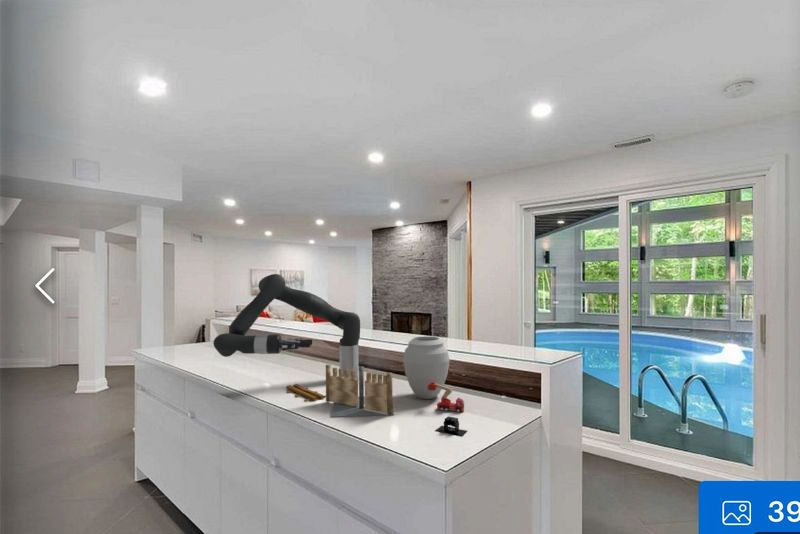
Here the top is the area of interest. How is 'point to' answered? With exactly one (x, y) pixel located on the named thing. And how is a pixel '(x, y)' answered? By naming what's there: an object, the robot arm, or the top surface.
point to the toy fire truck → (445, 401)
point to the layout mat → (354, 411)
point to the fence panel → (341, 387)
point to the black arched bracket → (451, 430)
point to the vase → (426, 365)
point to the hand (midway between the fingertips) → (311, 343)
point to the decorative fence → (304, 392)
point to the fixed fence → (376, 392)
